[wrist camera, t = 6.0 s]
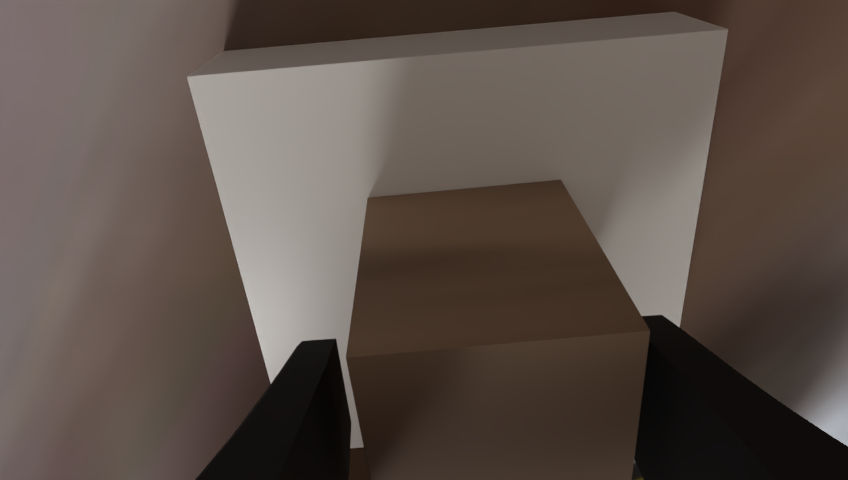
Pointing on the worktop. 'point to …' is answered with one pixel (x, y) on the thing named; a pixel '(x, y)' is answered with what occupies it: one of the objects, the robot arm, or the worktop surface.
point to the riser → (456, 150)
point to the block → (493, 340)
